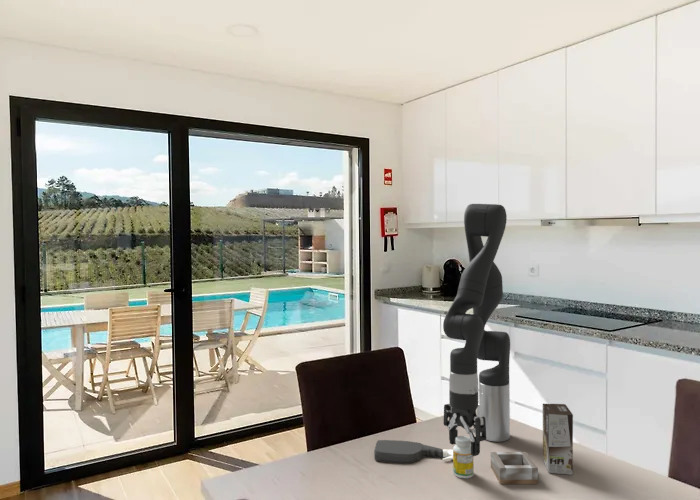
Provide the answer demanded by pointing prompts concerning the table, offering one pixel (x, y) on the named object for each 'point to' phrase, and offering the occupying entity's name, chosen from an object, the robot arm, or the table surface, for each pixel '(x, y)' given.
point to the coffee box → (558, 438)
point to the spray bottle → (407, 451)
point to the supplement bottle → (463, 458)
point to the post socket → (514, 468)
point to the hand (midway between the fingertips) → (464, 449)
